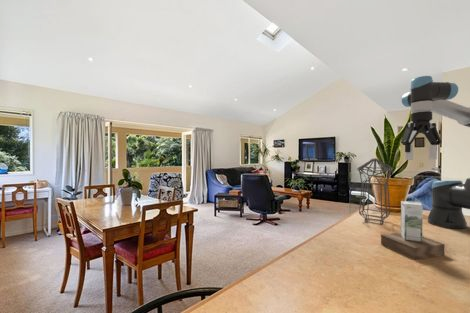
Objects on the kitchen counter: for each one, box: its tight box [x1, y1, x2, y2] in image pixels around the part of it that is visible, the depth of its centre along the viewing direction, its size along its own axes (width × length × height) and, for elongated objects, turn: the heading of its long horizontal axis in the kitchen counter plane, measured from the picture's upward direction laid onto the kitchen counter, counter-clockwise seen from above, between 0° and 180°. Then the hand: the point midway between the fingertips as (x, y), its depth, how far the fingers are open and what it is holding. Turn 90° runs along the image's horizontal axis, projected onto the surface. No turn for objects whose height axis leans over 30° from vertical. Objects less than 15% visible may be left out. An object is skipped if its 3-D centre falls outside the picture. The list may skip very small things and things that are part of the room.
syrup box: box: [400, 200, 424, 242], centre depth 91 cm, size 6×6×14 cm
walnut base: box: [380, 232, 445, 260], centre depth 91 cm, size 14×14×4 cm
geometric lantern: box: [356, 157, 394, 225], centre depth 127 cm, size 16×16×35 cm
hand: (421, 159), depth 104 cm, fingers open, 13 cm apart
